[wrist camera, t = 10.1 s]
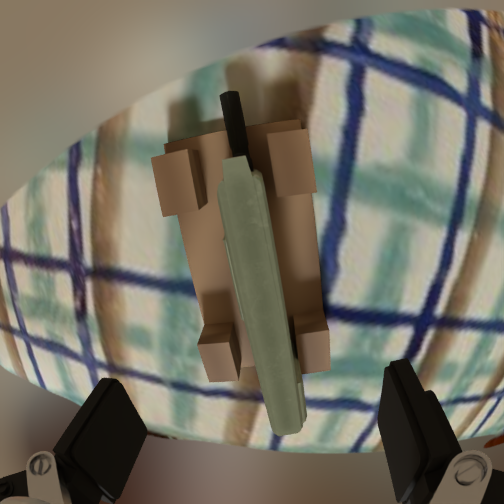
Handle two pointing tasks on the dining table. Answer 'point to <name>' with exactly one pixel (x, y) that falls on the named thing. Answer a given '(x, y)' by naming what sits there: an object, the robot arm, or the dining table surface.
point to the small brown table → (213, 249)
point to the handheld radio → (258, 276)
